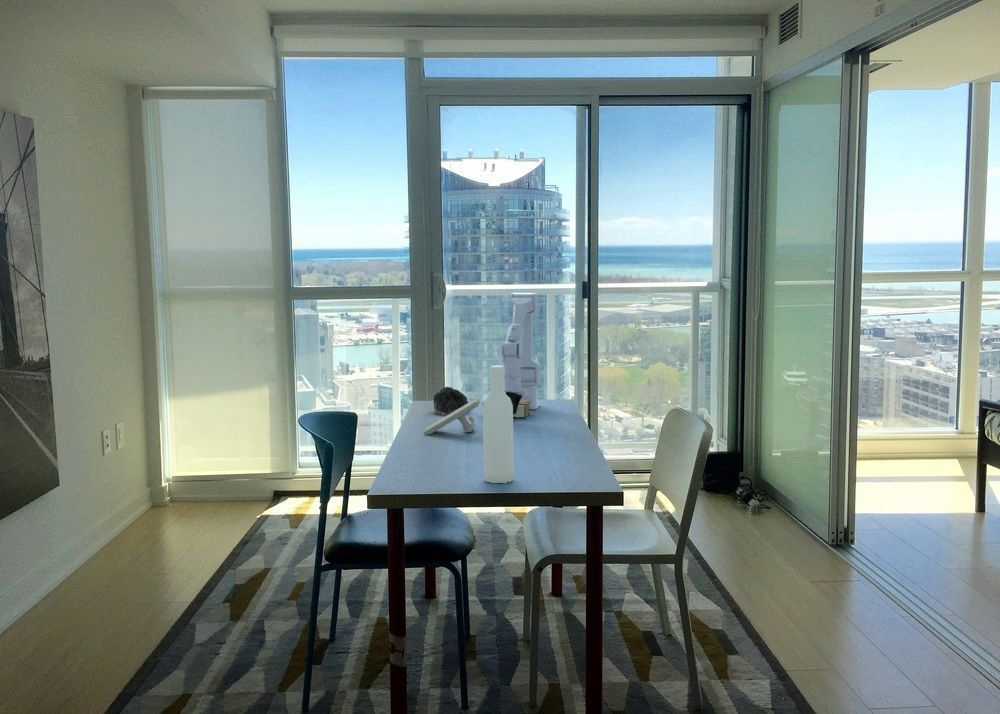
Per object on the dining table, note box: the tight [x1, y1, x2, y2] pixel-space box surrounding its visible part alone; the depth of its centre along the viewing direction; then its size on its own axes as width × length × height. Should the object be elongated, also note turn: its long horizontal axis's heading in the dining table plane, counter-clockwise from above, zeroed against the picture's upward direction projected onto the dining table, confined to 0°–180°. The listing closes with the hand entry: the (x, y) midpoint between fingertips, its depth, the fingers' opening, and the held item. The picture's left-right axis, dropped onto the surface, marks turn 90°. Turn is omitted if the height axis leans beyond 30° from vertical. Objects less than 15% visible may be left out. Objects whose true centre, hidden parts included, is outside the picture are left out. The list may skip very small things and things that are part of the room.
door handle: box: [424, 397, 481, 435], centre depth 275 cm, size 18×8×20 cm
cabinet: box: [482, 400, 531, 417], centre depth 296 cm, size 7×16×5 cm, turn 78°
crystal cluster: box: [433, 386, 469, 416], centre depth 304 cm, size 13×14×10 cm
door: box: [513, 405, 528, 418], centre depth 292 cm, size 2×15×4 cm, turn 77°
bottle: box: [482, 365, 515, 484], centre depth 212 cm, size 8×8×30 cm
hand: (512, 413), depth 287 cm, fingers closed
